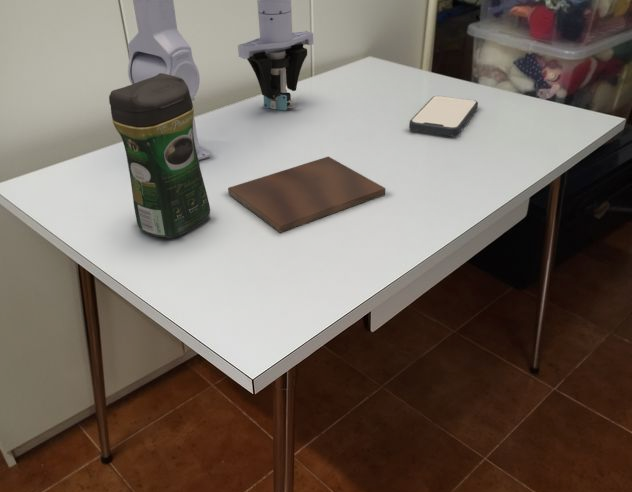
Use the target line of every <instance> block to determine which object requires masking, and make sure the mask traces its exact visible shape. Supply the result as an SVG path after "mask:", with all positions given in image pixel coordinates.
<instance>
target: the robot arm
mask: <svg viewBox="0 0 632 492" xmlns="http://www.w3.org/2000/svg"><path fill="white" fill-rule="evenodd" d="M256 2H257V17H258V30H259V37H257V38H255V39H252V40H249V41H247V42H244V43H239V44H237V52H238V57H240V58H241V59H243V60H247V62H248V63H249V65H250V67H251V69H252V70H253V73H254V74H255V77H256V79H257V82H258V86H259V88H260V92H261V96H263V97H264V96H266V97H271V67H272V60H271V59H269V58H268V57H267V55H266V53H269V52H274V51H278V50H283V49H284V50H285V53H286V54H288V55H290V60H289V66H288V67H286V68H285V77H286V89H288V90H290V91H292V92H295V91H297V88H298V81H299V77H300V73H301V70H302V67H303V65H304V62H305V60H306V58H307V56H308V49H307V48H306V47H304V46H305V45H308V46H312V45H314V32H312V31H309V30H304V31H293V17H292V16H293V15H292V13H293V12H292V0H256ZM132 3H133V8H134V15H135V21H136V26H137V34H135V35H134V36H133V38H132V39H131V40H130V41H129V42H128V44H127V46H128V47H127V48H128V54H129V60H128V64H127V65H128V66H127V76H128V80H129V82H130V85H132V84H134V83H137V82H139V81H142V80H145V79H148V78H151V77H154V76H156V75H158V74H159V73H163V74H168V75H172V76H176V77H179V78H182V79H183V80H184V81H185V83H186V84H187V86H188V89H189V92H190V96H191V100H192V102H194V101H195V99H196V98H195V97H196V96H197V93H198V91H199V88H200V80H201V79H200V78H201V77H200V72H199V68H198V66H197V64H196V63H195V61H194V57H193V53H192V47H191V46H190V44H189V43H188V42H187V40H186V39H185V38H184V36H183V35H182V34H181V33H180V31H179V30H178V24H177V18H176V11H175V10H176V9H175V3H174V0H132ZM193 136H194V142H195V148H196V152H197V156H198V161H201V160H203V159H207V158H210V153H209V152H208V151H206V150H205V149H203V148H202V147H201V146H199V139H198V133H197V125H196V118H195V115H194V116H193Z"/></svg>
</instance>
